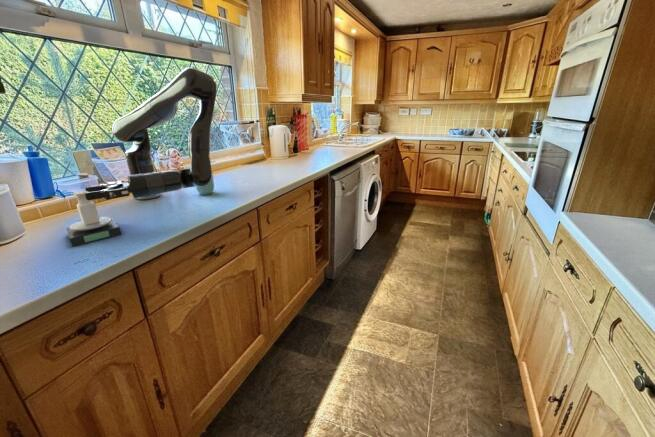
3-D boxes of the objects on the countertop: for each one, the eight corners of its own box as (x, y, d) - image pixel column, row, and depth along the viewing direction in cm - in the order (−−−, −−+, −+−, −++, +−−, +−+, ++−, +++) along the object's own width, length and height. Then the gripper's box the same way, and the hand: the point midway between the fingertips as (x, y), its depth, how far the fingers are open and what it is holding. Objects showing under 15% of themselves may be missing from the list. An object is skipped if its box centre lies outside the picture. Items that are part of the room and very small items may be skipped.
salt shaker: (85, 226, 90) (74, 195, 86) (82, 223, 92) (72, 193, 89) (101, 222, 92) (91, 192, 89) (97, 219, 95) (88, 190, 92)
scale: (68, 235, 94) (64, 223, 93) (113, 224, 102) (110, 213, 100) (72, 247, 85) (67, 234, 84) (121, 234, 93) (118, 222, 92)
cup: (209, 196, 132) (205, 173, 128) (193, 195, 133) (189, 173, 130) (218, 191, 139) (215, 169, 135) (203, 191, 140) (199, 169, 137)
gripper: (141, 170, 103) (82, 177, 94) (147, 176, 92) (81, 185, 83) (146, 191, 105) (89, 200, 96) (153, 200, 95) (89, 211, 86)
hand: (85, 193), depth 90 cm, fingers open, 8 cm apart
